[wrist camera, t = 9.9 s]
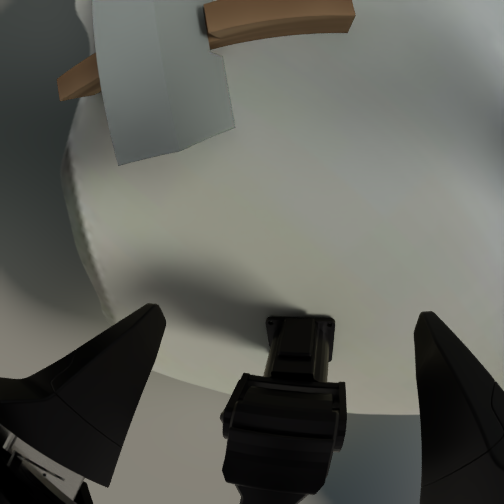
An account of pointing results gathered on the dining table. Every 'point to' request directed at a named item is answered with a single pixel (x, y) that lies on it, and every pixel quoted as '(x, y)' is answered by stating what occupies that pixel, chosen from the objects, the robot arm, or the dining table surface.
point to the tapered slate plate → (158, 76)
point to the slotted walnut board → (236, 31)
